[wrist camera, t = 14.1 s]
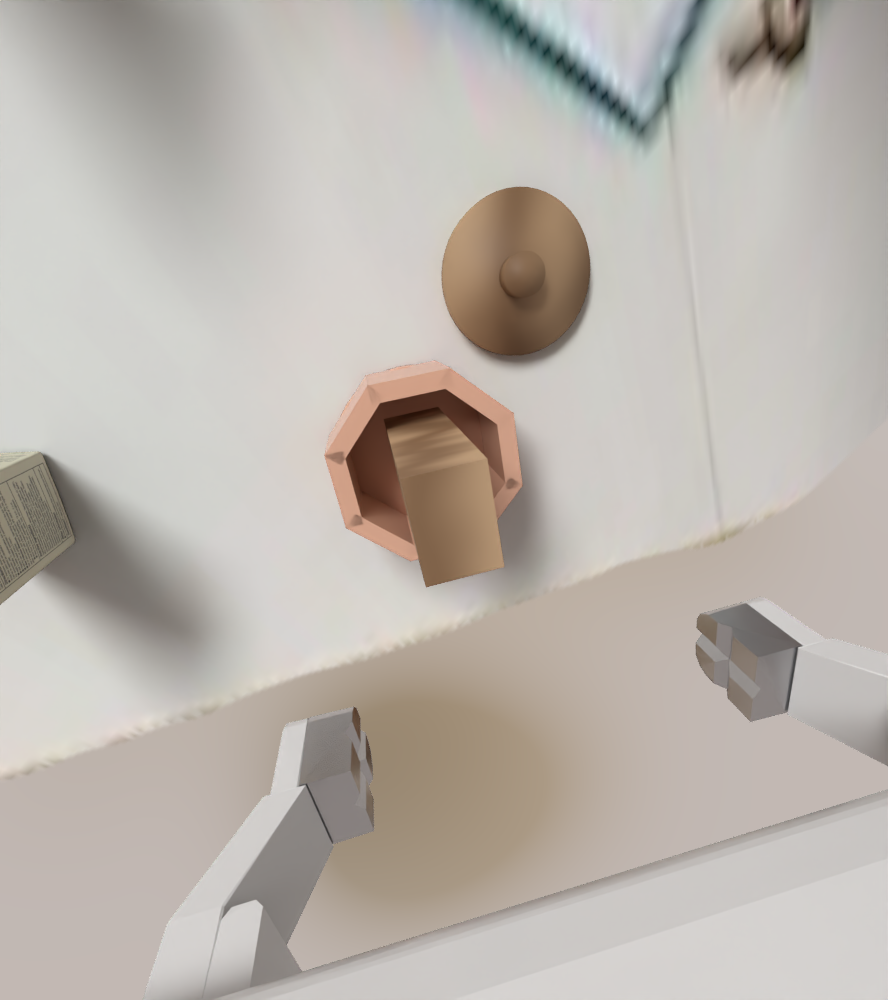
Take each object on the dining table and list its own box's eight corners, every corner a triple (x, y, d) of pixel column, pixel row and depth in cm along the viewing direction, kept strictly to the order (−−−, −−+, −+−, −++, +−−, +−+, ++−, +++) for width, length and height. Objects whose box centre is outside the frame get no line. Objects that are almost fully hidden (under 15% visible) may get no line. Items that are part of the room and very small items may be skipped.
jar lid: (573, 177, 27) (592, 164, 25) (587, 336, 30) (605, 337, 28) (425, 210, 26) (431, 200, 24) (457, 368, 30) (465, 372, 28)
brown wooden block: (437, 406, 29) (487, 458, 18) (451, 479, 31) (504, 566, 20) (383, 418, 29) (400, 479, 18) (401, 492, 31) (425, 587, 20)
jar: (481, 349, 29) (507, 354, 24) (503, 500, 33) (529, 531, 28) (315, 384, 28) (306, 397, 23) (358, 535, 32) (359, 574, 27)
